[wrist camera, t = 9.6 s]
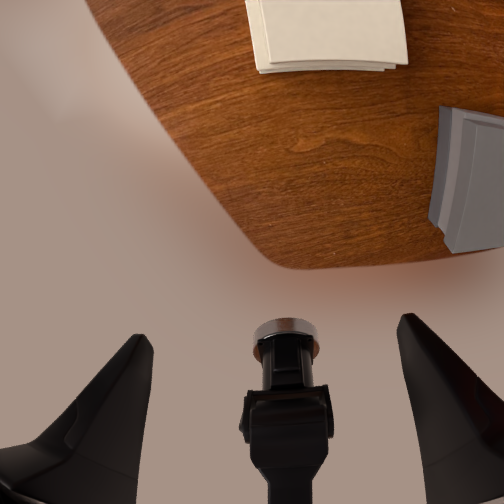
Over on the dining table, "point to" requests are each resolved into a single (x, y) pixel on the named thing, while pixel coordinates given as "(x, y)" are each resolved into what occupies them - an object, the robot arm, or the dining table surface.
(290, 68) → the white pile
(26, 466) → the robot arm
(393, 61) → the white block
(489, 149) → the grey pile
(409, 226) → the dining table surface
